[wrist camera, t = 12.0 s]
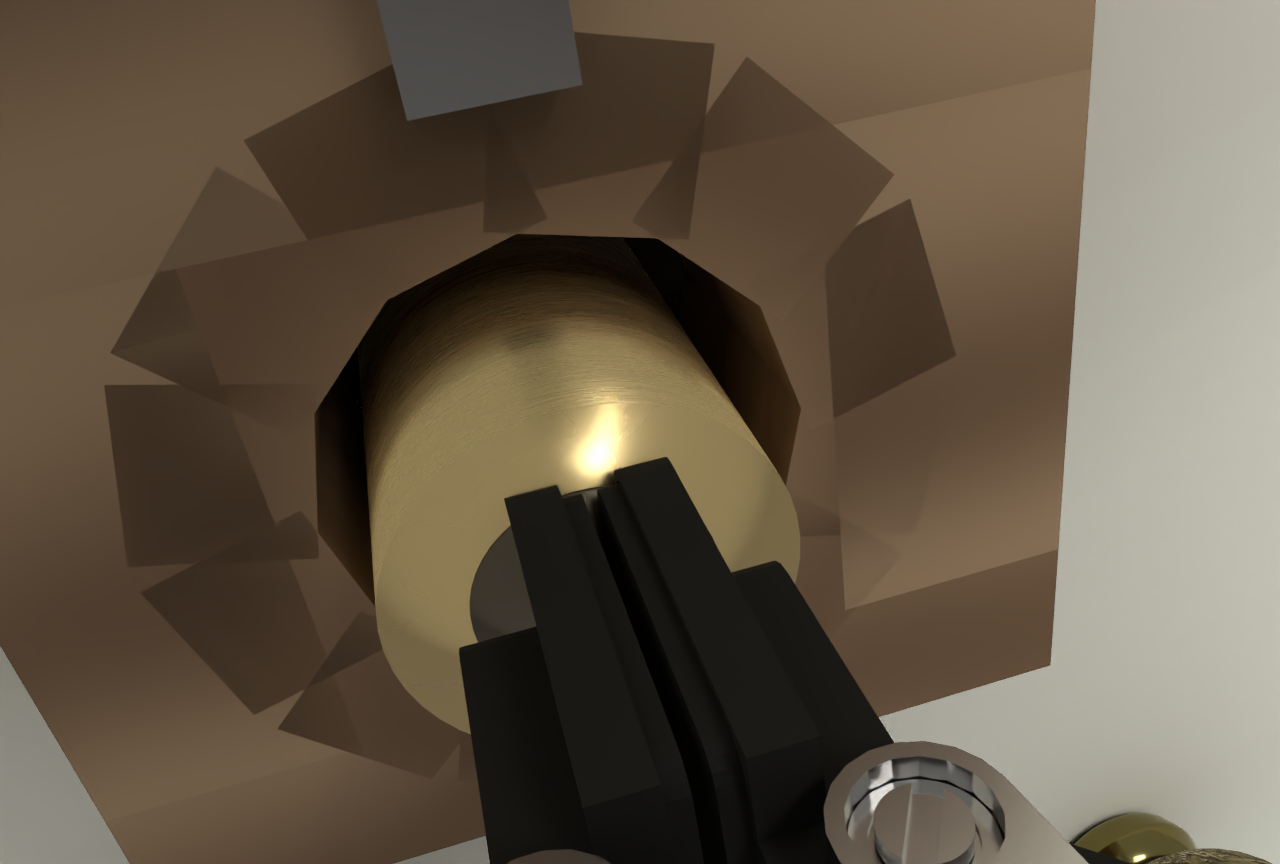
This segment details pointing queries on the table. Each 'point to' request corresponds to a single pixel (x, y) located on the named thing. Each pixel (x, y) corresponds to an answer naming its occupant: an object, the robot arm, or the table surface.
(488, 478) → the cylinder
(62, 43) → the jig
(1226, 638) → the table surface
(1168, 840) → the cup
